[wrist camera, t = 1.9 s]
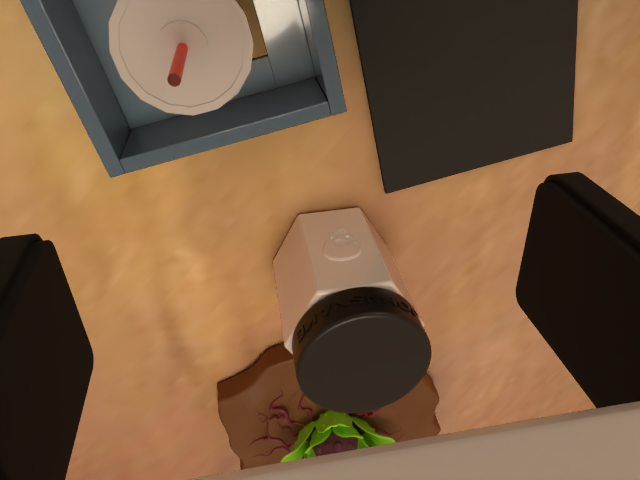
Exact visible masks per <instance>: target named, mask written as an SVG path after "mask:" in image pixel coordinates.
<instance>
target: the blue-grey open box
mask: <svg viewBox="0 0 640 480" xmlns="http://www.w3.org/2000/svg"><path fill="white" fill-rule="evenodd" d="M20 1H21V3H22V5H23V7H24V9H25V11H26V13H27V15H28V17H29V19H30V21H31V23H32V25H33V27H34V29H35V31H36V33H37V35H38V37H39V39H40V41H41V43H42V45H43V47H44V49H45V51H46V53H47V54H48V56H49V58H50V60H51V62H52V64H53V66H54V68H55V70H56V72H57V74H58V76H59V78H60V80H61V82H62V84H63V86H64V88H65V90H66V92H67V94H68V96H69V98H70V100H71V102H72V104H73V106H74V107H75V109H76V111H77V113H78V115H79V117H80V119H81V121H82V123H83V125H84V127H85V129H86V131H87V133H88V135H89V137H90V139H91V141H92V143H93V145H94V147H95V149H96V151H97V153H98V155H99V157H100V159H101V161H102V162H103V164H104V166H105V168H106V170H107V172H108V174H109V176H110V178H112V177H115V176H119V175H122V174H125V172H126V173H129V172H133V171H136V170H140V169H143V168H147V167H150V166H154V165H157V164H161V163H165V162H168V161H172V160H175V159H179V158H182V157H186V156H190V155H193V154H197V153H200V152H204V151H207V150H211V149H214V148H218V147H222V146H225V145H229V144H232V143H236V142H239V141H243V140H246V139H250V138H254V137H257V136H261V135H264V134H268V133H271V132H275V131H278V130H282V129H286V128H289V127H293V126H296V125H300V124H303V123H307V122H311V121H314V120H318V119H321V118H325V117H328V116H331V115H332V116H333V115H336V114H340V113H343V112H346V111H347V110H346V105H345V100H344V95H343V91H342V86H341V81H340V76H339V72H338V67H337V62H336V57H335V53H334V48H333V43H332V38H331V34H330V29H329V24H328V19H327V15H326V10H325V5H324V0H253V3H254V7H255V10H256V14H257V18H258V21H259V25H260V28H261V32H262V35H263V39H264V43H265V46H266V50H267V53H268V55H267V56H263V57H260V58H256V59H253V60H252V63H251V71H250V73H249V75H248V76H247V78H246V80H245V82H244V84H243V85H242V87H241V89H240V91H239V93H238V94H237V95H235V96H234V97H233V98H232V99H230V100H229V101H228V102H226V103H225V104H224V105H223V106H221V107H220V108H219V109H216V110H212V111H209V112H205V113H201V114H197V115H194V116H192V115H183V114H175V113H166V112H164V111H162V110H160V109H158V108H156V107H154V106H152V105H151V104H149V103H147V102H145V101H143V100H141V99H140V98H139V97H138V96H137V95H136V94H135V93H134V92H133V91H132V89H131V88H130V87H129V86H128V85H127V84H126V83H125V82H124V81H123V80H122V79H121V77H120V75H119V72H118V70H117V68H116V65H115V63H114V61H113V58H112V56H111V54H110V51H109V20H110V18H111V15H112V13H113V10H114V8H115V6H116V3H117V1H118V0H20ZM315 77H316V78H315Z"/></svg>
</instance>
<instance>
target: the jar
mask: <svg viewBox="0 0 640 480" xmlns="http://www.w3.org/2000/svg"><path fill="white" fill-rule="evenodd" d="M273 270H274V277H275V284H276V291H277V298H278V305H279V312H280V319H281V327H282V334H283V341H284V346H285V348H286V349H287V350H288V351H289V352H290V353H291V354H292V355H293V359H294V365H295V372H296V378H297V382H298V385H299V387H300V389H301V391H302V392H303V394H304V395H305V396H306V397H307V398H308V399H309V400H310V401H312V402H313V403H315V404H316V405H318V406H320V407H322V408H324V409H327V410H331V411H335V412H341V413H361V412H367V411H372V410H376V409H379V408H382V407H385V406H387V405H390V404H392V403H394V402H396V401H398V400H399V399H401V398H402V397H404V396H405V395H407V394H408V393H409V392H411V391H412V390H413V389H414V388H415V387H416V386H417V385H418V384H419V382H420V381H421V380H422V378H423V377H424V375H425V373H426V372H427V369H428V367H429V364H430V360H431V345H430V341H429V338H428V336H427V334H426V332H425V330H424V322H423V320H422V318H421V316H420V314H419V312H418V310H417V308H416V305H415V303H414V301H413V299H412V297H411V295H410V293H409V291H408V289H407V287H406V284H405V282H404V280H403V278H402V276H401V274H400V272H399V270H398V268H397V266H396V263H395V261H394V259H393V257H392V255H391V253H390V251H389V249H388V247H387V245H386V244H385V243H384V241H383V240H382V238H381V237H380V236H379V234H378V233H377V231H376V230H375V228H374V227H373V226H372V224H371V223H370V221H369V220H368V219H367V217H366V216H365V214H364V213H363V212H362V210H361V209H360V208H348V209H340V210H332V211H323V212H315V213H306V214H299V215H298V216H297V217H296V219H295V221H294V223H293V225H292V227H291V229H290V230H289V232H288V234H287V236H286V238H285V240H284V242H283V243H282V245H281V247H280V249H279V251H278V253H277V254H276V256H275V258H274V260H273Z"/></svg>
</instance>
